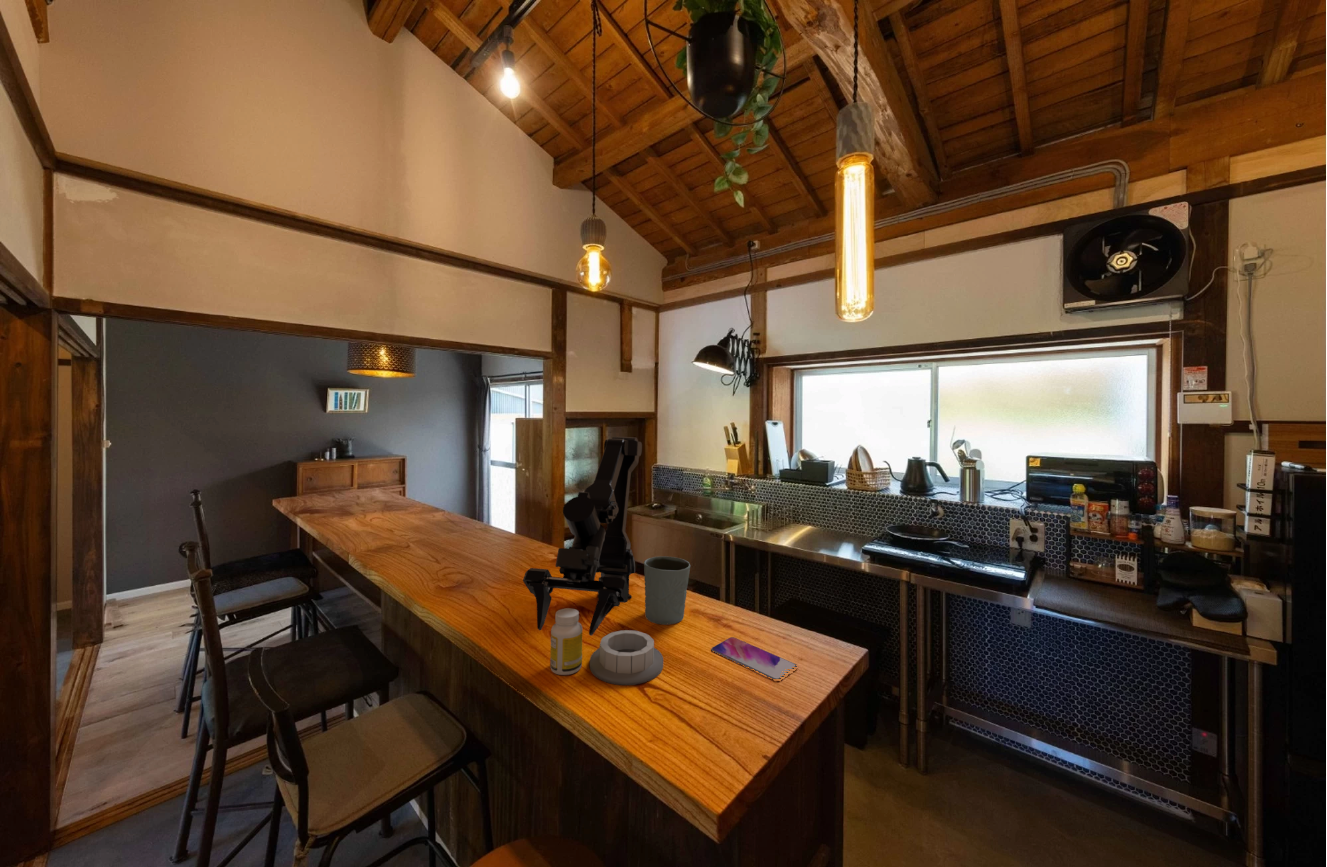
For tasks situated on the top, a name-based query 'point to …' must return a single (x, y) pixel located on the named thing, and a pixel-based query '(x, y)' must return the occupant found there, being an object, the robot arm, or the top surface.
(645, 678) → the socket collar
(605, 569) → the robot arm
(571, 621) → the supplement bottle
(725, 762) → the top surface
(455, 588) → the top surface
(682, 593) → the grey green cup
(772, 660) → the smartphone
